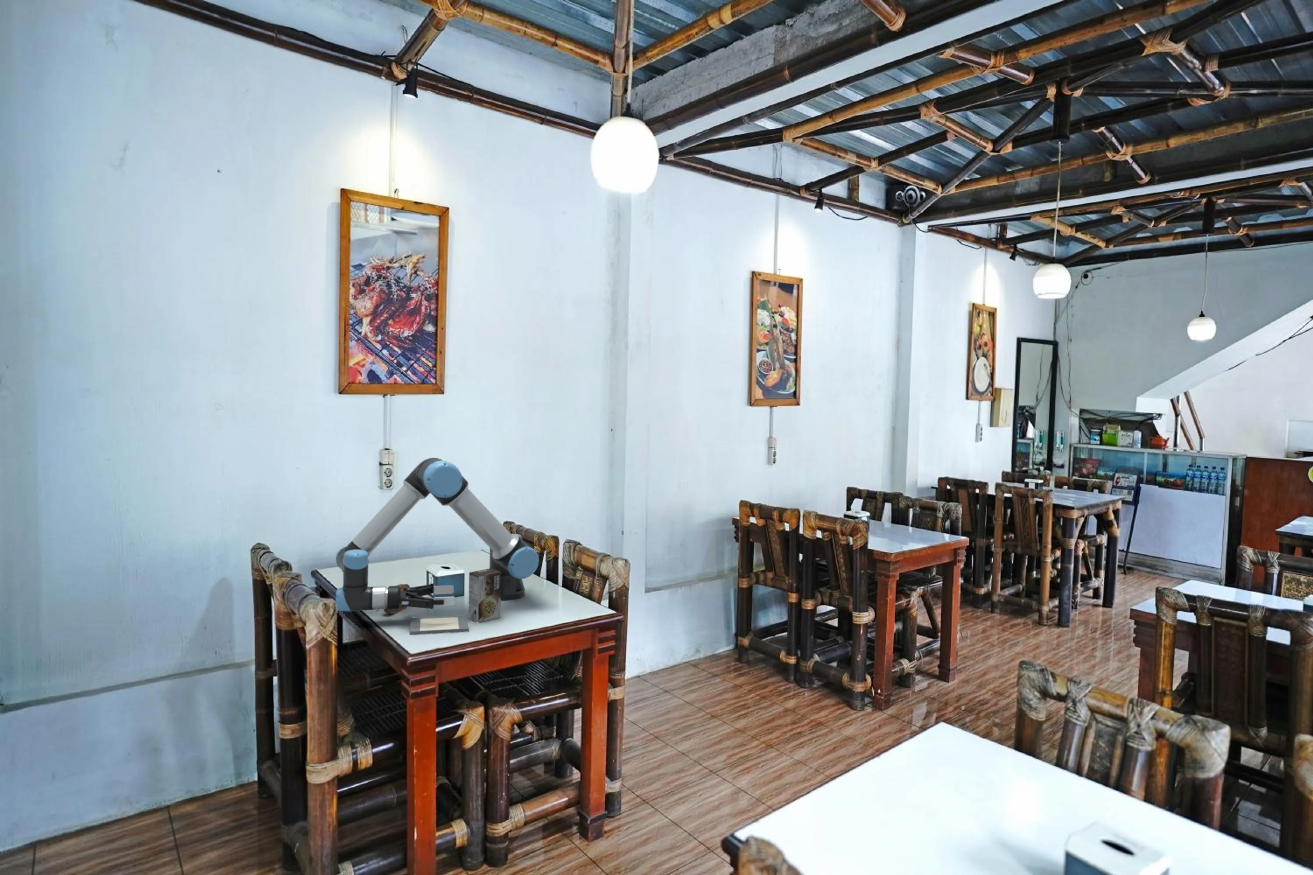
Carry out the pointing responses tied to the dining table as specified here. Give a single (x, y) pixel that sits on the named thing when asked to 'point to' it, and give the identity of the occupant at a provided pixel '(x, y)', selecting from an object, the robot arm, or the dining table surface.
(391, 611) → the tin
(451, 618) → the mat
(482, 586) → the coffee box
